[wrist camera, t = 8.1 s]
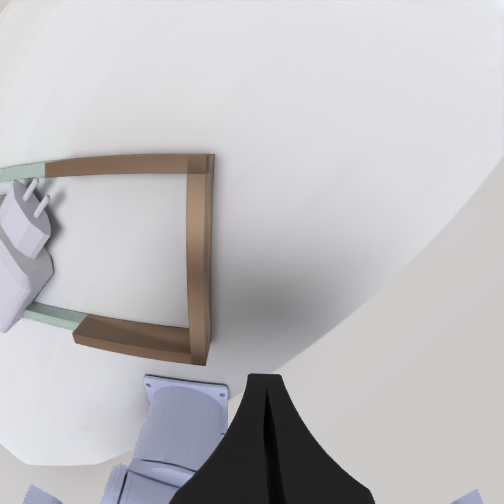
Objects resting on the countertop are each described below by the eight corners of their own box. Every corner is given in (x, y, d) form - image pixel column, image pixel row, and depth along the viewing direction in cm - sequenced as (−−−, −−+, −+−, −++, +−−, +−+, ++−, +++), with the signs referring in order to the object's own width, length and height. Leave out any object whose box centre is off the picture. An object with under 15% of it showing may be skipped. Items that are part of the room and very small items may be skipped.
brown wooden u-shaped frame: (210, 340, 22) (205, 366, 19) (90, 323, 22) (75, 343, 19) (214, 154, 17) (206, 155, 14) (69, 158, 17) (44, 163, 14)
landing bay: (90, 323, 22) (83, 332, 20) (-16, 295, 21) (-24, 301, 20) (69, 158, 17) (57, 160, 15) (-38, 177, 16) (-47, 180, 15)
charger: (94, 226, 19) (26, 313, 22) (36, 142, 16) (-19, 247, 20) (59, 248, 15) (1, 337, 18) (-4, 147, 12) (-47, 264, 15)
